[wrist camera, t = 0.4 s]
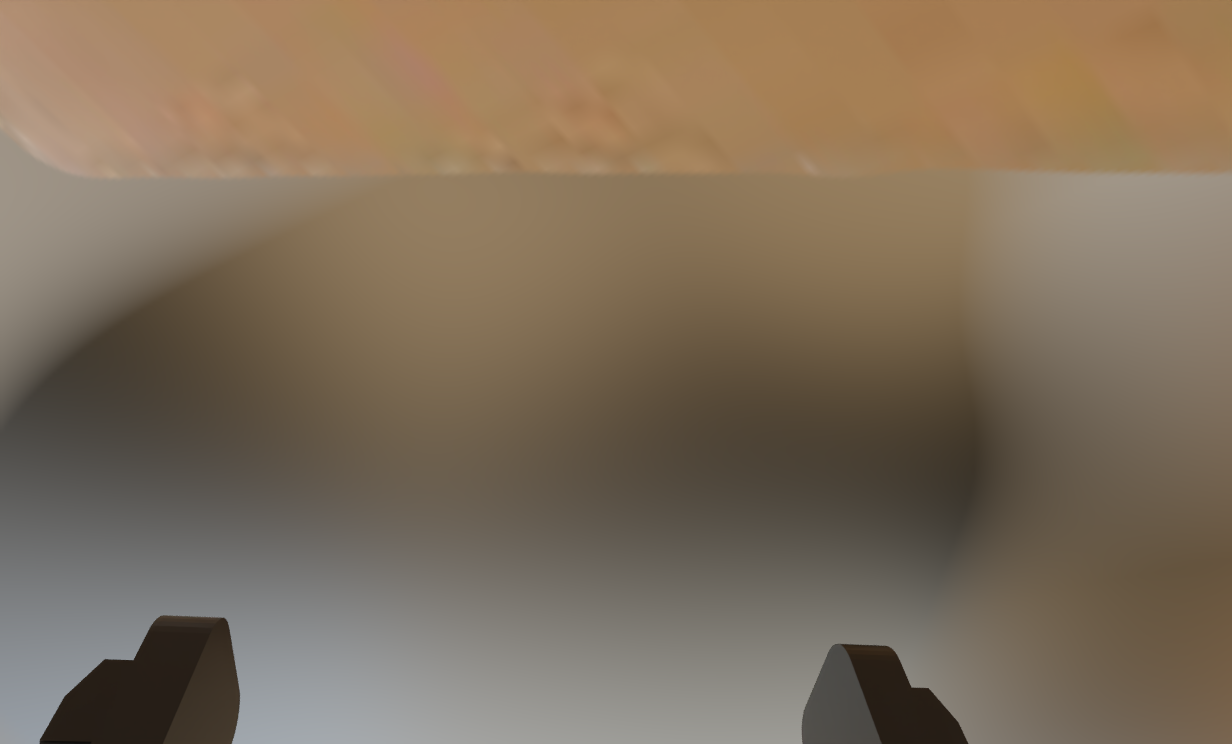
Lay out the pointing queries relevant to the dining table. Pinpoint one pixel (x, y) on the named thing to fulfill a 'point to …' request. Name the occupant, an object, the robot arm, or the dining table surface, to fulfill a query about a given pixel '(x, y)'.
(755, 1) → the dining table surface
